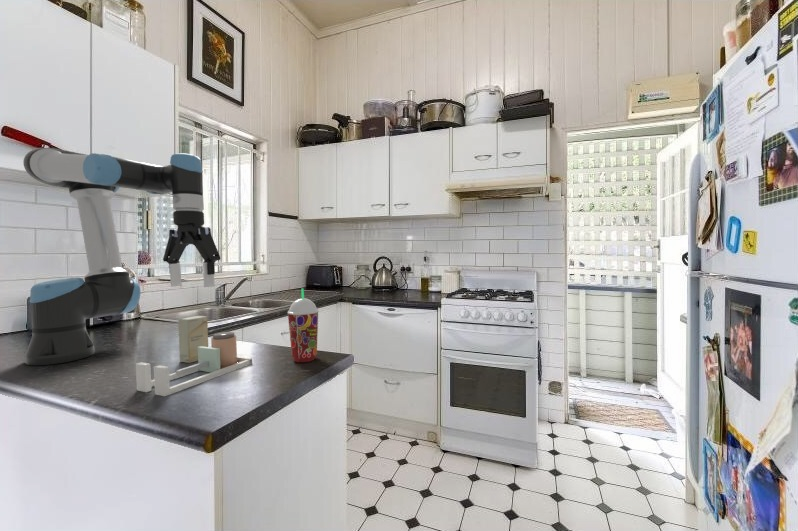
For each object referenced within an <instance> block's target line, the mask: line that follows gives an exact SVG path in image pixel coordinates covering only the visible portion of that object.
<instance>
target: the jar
mask: <svg viewBox="0 0 798 531" xmlns="http://www.w3.org/2000/svg"><path fill="white" fill-rule="evenodd" d="M210 341H211V342H210V344H211V346H210V347H212V348H220V369H222V368H225V367H228V366H231V365H234V364H236V363H237V356H238V349H237V348H238V347H237V346H238V345H237V344H238V343H237V335H236V334H235V332H233V331H223V332H217V333H214V334H212V337H211V338H210Z"/></svg>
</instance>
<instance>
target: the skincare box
mask: <svg viewBox="0 0 798 531" xmlns="http://www.w3.org/2000/svg"><path fill="white" fill-rule="evenodd" d="M177 321H178V324H177V325H178V346H179V347H178V349H179V362H181V363H186V364H187V363H188V364H191V363H194V362H198V347H200V346H204V347H209V327H208V323H209V322H208V316H207V315H206V316H205V315H195V316H189V317H183V318H178V320H177Z"/></svg>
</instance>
